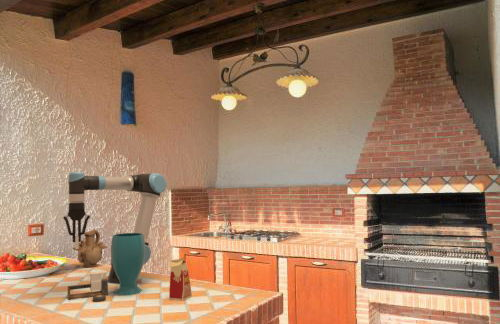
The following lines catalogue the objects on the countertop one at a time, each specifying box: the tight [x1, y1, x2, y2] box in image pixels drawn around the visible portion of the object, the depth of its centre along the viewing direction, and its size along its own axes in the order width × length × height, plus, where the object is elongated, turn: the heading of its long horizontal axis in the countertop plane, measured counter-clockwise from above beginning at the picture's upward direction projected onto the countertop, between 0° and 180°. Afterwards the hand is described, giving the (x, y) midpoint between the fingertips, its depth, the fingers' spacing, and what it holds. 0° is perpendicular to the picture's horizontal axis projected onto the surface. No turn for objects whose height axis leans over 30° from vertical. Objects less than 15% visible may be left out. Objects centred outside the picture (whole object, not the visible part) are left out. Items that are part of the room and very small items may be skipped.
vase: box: [110, 232, 145, 296], centre depth 236 cm, size 17×17×30 cm
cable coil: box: [92, 295, 107, 303], centre depth 219 cm, size 6×6×2 cm
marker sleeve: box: [89, 271, 102, 292], centre depth 230 cm, size 5×4×8 cm
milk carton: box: [168, 257, 193, 301], centre depth 222 cm, size 9×9×20 cm
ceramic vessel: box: [72, 228, 108, 268], centre depth 309 cm, size 18×19×25 cm
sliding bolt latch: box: [66, 278, 109, 301], centre depth 228 cm, size 19×7×7 cm, turn 116°
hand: (76, 248), depth 227 cm, fingers closed
